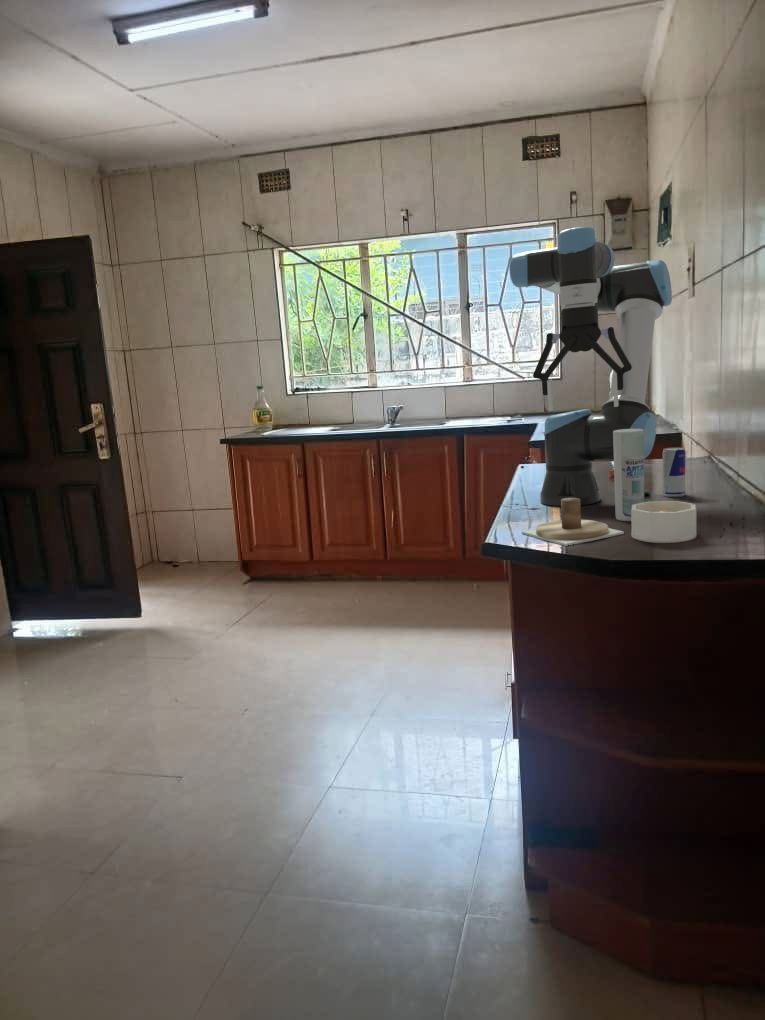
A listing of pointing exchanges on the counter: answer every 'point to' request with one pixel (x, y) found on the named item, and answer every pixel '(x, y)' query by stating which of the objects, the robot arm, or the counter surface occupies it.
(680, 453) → the energy drink
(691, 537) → the bowl
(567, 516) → the lid
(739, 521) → the counter surface
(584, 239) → the robot arm
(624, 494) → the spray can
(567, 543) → the mat
